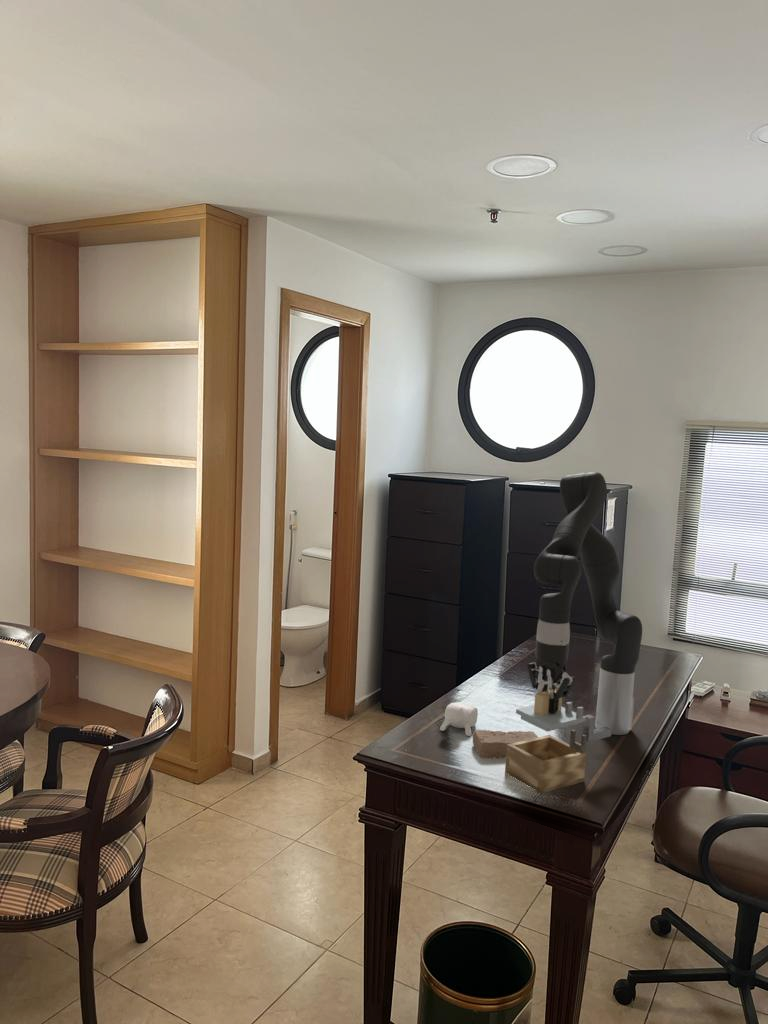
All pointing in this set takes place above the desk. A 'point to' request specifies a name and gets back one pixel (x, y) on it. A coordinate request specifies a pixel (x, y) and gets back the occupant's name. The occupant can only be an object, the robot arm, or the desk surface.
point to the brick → (497, 741)
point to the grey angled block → (594, 730)
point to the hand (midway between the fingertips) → (547, 710)
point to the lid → (548, 721)
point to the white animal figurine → (460, 717)
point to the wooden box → (547, 762)
